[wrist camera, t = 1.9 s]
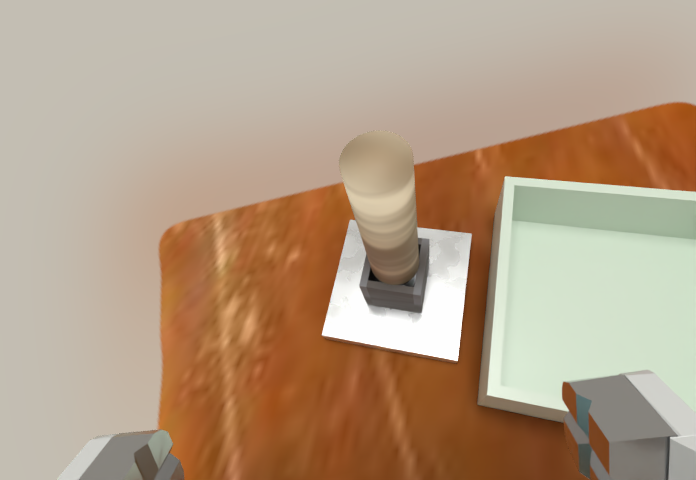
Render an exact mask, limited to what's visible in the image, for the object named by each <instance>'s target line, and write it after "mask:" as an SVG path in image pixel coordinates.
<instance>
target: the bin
mask: <svg viewBox="0 0 696 480" xmlns="http://www.w3.org/2000/svg"><path fill="white" fill-rule="evenodd" d="M641 370H650V371H652V372H654V373H655V374H656V375H657V376H658V377H659V378H660V379H661V380H662V381H663V382H664V383H665V384H666V385H668V386H669V387H670V388H671V389H672V390H673V391H674V392H675V393H676V394H677V395H678V396H679V397H680V398H681V399H682V400H683V401H684V402H685V403H686V404H687V405H688V406H689V407H690V408H691V409H692V410H693V411H694V412H695V413H696V192H689V191H677V190H664V189H652V188H640V187H628V186H616V185H603V184H591V183H579V182H567V181H555V180H543V179H530V178H518V177H506V176H505V179H504V182H503V186H502V190H501V193H500V197H499V201H498V204H497V208H496V211H495V215H494V224H493V235H492V246H491V257H490V268H489V279H488V290H487V301H486V312H485V323H484V334H483V345H482V356H481V367H480V378H479V389H478V400H477V405H480V406H485V407H490V408H495V409H499V410H504V411H509V412H514V413H518V414H523V415H528V416H533V417H537V418H542V419H547V420H552V421H557V422H561V423H564V421H563V418H564V417H565V415H566V414H567V413H568V411H569V410H568V408H567V406H566V405H565V403H564V401H563V400H562V385H563V381H571V380H579V379H587V378H595V377H603V376H611V375H619V374H620V373H627V372H634V371H641Z"/></svg>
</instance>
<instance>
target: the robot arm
mask: <svg viewBox="0 0 696 480" xmlns="http://www.w3.org/2000/svg"><path fill="white" fill-rule="evenodd" d="M562 400H563V401H564V403H565V405H566V406H567V408H568V410H569V411H568V413H567V414H566V415H565V417H564V418H563V421H564V433H565V437H566V441H567V445H568V449H569V451H570V454H571V456H572V459H573V461H574V463H575V465H576V467H577V468H578V470H579V472H580V473H582V474H583V475H585V476H586V477H588V478H589V479H590V480H696V413H695V412H694V411H693V410H692V409H691V408H690V407H689V406H688V405H687V404H686V403H685V402H684V401H683V400H682V399H681V398H680V397H679V396H678V395H677V394H676V393H675V392H674V391H673V390H672V389H671V388H670V387H669V386H668V385H666V384H665V383H664V382H663V381H662V380H661V379H660V378H659V377H658V376H657V375H656V374H655V373H654V372H652V371H650V370H641V371H634V372H627V373H620V374H619V375H611V376H603V377H595V378H587V379H579V380H571V381H563V385H562ZM172 446H173V443H172V440H171V438H170V436H169V434H168V432H167V431H164V430H151V431H141V432H129V433H119V434H112V435H102V436H97V437H95V438H93V439H91V440H90V441H89V442H88V443H87V444H86V445H85V447H84V448H83V449H82V450H81V452H80V453H79V454H78V455H77V456H76V457H75V459H74V460H73V461H72V462H71V463H70V464H69V466H68V467H67V468H66V469H65V470H64V471H63V473H62V474H61V475H60V476H59V477H58V479H57V480H184V471H183V468H182V465H181V463H180V460H178V459H177V458H176V457H174V456H173V455H172V454H170V451H171V448H172Z"/></svg>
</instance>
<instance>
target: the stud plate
mask: <svg viewBox="0 0 696 480" xmlns="http://www.w3.org/2000/svg"><path fill="white" fill-rule="evenodd" d="M417 232H418V238H426V239H429V259H430V262H429V269H428V276H427V282H426V289H425V295H424V302H423V308H422V314H421V313H415V312H409V311H403V310H397V309H391V308H385V307H379V306H373V305H367V303H366V301H365V299H364V296H363V294H362V292H361V289H360V287H359V284H360V280H361V275H362V271H363V266H364V262H365V257H366V251H365V248H364V244H363V241H362V238H361V235H360V232H359V229H358V226H357V223H356V220H350V222H349V227H348V231H347V235H346V239H345V243H344V247H343V251H342V255H341V259H340V263H339V267H338V272H337V276H336V280H335V284H334V288H333V292H332V296H331V300H330V304H329V308H328V312H327V317H326V321H325V325H324V329H323V333H322V336H323V337H324V338H325V339H328V340H334V341H339V342H344V343H349V344H355V345H360V346H365V347H371V348H376V349H381V350H386V351H392V352H397V353H402V354H408V355H413V356H418V357H423V358H429V359H434V360H439V361H445V362H450V363H455V364H457V360H458V352H459V343H460V334H461V325H462V316H463V307H464V298H465V289H466V281H467V272H468V263H469V254H470V245H471V236H472V234H470V233H461V232H452V231H444V230H435V229H426V228H418V227H417ZM415 279H416V274H415V276H414V277H413V278H412V279H411V280H409V281H408V282H406V283H404V284H400V285H403V286H409V287H414V285H415ZM378 282H381V281H380V280H379V281H378Z"/></svg>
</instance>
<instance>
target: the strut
mask: <svg viewBox="0 0 696 480" xmlns="http://www.w3.org/2000/svg"><path fill="white" fill-rule="evenodd" d="M339 169H340V173H341V176H342V179H343V182H344V185H345V188H346V192H347V195H348V198H349V201H350V204H351V207H352V210H353V213H354V216H355V220H356V223H357V226H358V229H359V232H360V235H361V238H362V241H363V244H364V248H365V251H366V257H365V262H364V266H363V271H362V275H361V280H360V284H359V287H360V289H361V292H362V294H363V296H364V299H365V301H366V303H367V305H373V306H379V307H385V308H391V309H397V310H403V311H409V312H415V313H421V314H422V308H423V302H424V295H425V289H426V282H427V276H428V269H429V262H430V259H429V239H426V238H418V232H417V214H416V196H415V179H414V161H413V153H412V149H411V147H410V145H409V144H408V143H407V141H405V140H404V139H403V138H402V137H401V136H399V135H397V134H395V133H392V132H388V131H371V132H367V133H364V134H362V135H359V136H358V137H356V138H354V139H353V140H352V141H350V142H349V143H348V144H347V145H346V147H345V148H344V149H343V151H342V153H341V156H340V160H339ZM415 274H416V279H415V285H414V287H409V286H403V285H400V284H404V283H406V282H408V281H409V280H411V279H412V278H413V277H414V276H415ZM379 280H380V281H381V282H378V281H379Z"/></svg>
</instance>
